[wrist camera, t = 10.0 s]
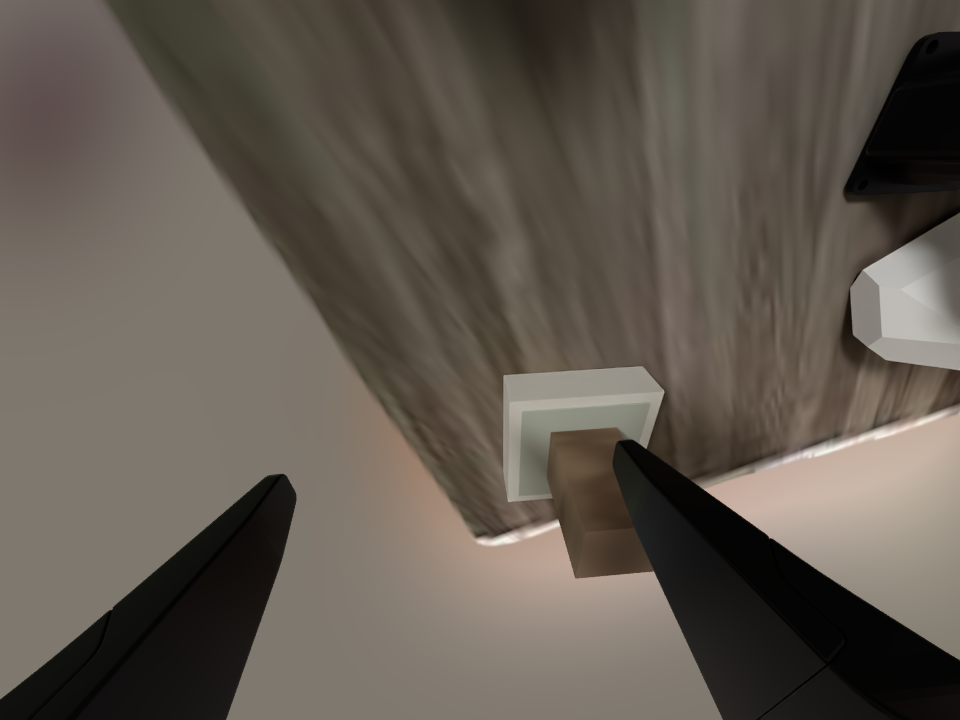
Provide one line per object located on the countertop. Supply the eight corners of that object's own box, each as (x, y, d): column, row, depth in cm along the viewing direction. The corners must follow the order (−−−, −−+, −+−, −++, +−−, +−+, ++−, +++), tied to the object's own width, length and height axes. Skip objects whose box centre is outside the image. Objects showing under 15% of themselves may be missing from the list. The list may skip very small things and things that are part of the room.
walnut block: (616, 427, 23) (674, 524, 17) (606, 472, 25) (653, 571, 19) (550, 432, 23) (585, 532, 17) (546, 476, 25) (575, 578, 19)
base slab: (642, 366, 24) (665, 392, 21) (617, 462, 29) (633, 493, 27) (503, 375, 24) (509, 403, 21) (503, 471, 29) (508, 503, 26)
